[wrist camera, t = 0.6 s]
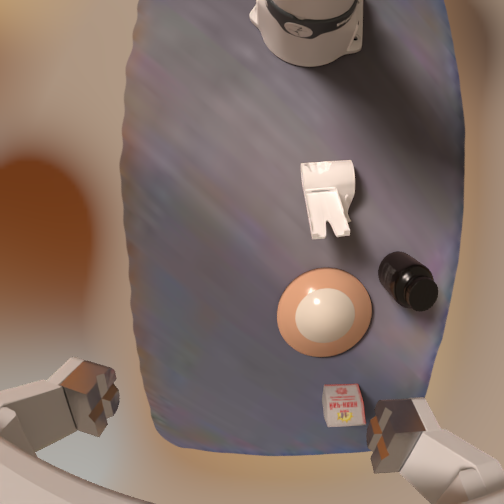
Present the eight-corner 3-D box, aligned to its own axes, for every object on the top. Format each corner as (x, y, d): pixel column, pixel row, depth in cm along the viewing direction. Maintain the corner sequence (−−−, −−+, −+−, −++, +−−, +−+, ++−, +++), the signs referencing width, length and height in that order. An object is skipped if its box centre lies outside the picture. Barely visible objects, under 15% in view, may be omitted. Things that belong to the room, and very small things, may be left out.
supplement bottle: (393, 297, 51) (417, 328, 40) (369, 270, 51) (391, 297, 39) (421, 269, 50) (452, 294, 38) (398, 241, 49) (427, 261, 37)
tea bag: (355, 397, 57) (363, 431, 47) (321, 399, 58) (326, 433, 48) (357, 383, 56) (367, 417, 46) (324, 384, 57) (329, 419, 47)
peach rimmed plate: (296, 254, 51) (297, 257, 49) (384, 284, 51) (387, 287, 49) (264, 337, 55) (263, 342, 54) (346, 361, 55) (348, 366, 53)
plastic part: (347, 160, 47) (366, 156, 36) (352, 223, 49) (371, 237, 38) (299, 163, 48) (305, 159, 36) (305, 227, 50) (312, 242, 39)
